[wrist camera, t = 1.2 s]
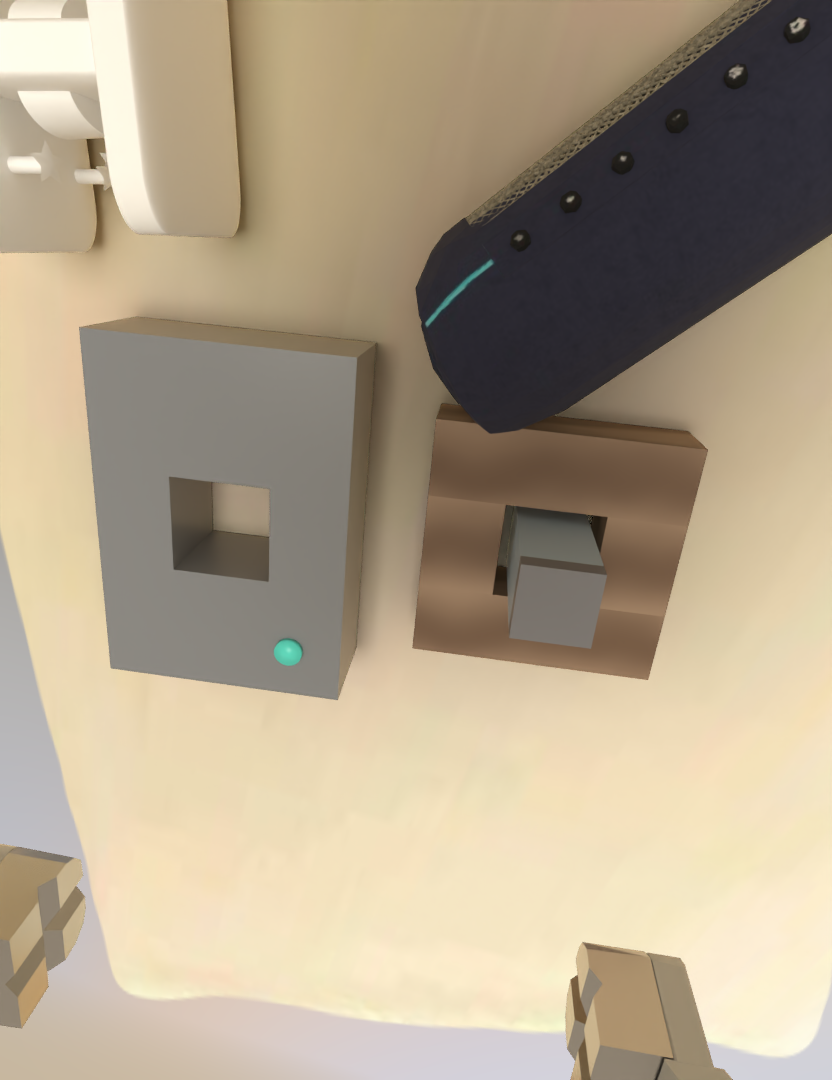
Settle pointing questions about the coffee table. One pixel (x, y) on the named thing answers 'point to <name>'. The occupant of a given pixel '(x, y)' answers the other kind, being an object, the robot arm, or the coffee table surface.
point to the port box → (241, 459)
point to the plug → (553, 577)
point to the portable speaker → (639, 219)
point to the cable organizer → (115, 120)
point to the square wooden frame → (568, 486)
